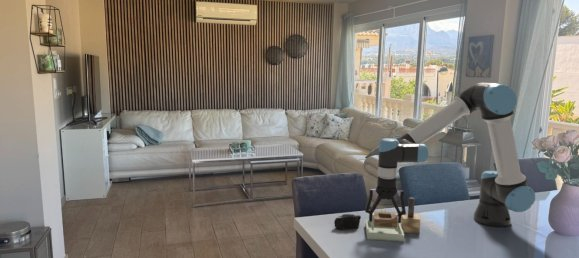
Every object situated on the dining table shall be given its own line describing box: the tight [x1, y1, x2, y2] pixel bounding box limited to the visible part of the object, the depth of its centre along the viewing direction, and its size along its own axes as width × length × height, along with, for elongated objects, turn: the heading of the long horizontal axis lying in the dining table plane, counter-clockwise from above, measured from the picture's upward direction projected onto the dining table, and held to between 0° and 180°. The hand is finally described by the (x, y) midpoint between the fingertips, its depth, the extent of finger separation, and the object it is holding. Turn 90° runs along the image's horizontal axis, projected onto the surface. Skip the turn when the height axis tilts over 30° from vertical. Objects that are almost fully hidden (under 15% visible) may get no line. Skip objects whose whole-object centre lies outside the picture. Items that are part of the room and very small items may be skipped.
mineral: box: [333, 213, 362, 231], centre depth 179 cm, size 10×9×6 cm
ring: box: [373, 209, 398, 228], centre depth 172 cm, size 11×9×3 cm
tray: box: [364, 219, 405, 243], centre depth 173 cm, size 14×14×3 cm
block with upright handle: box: [400, 197, 421, 234], centre depth 176 cm, size 7×6×14 cm
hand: (384, 229), depth 172 cm, fingers closed on ring, 9 cm apart
